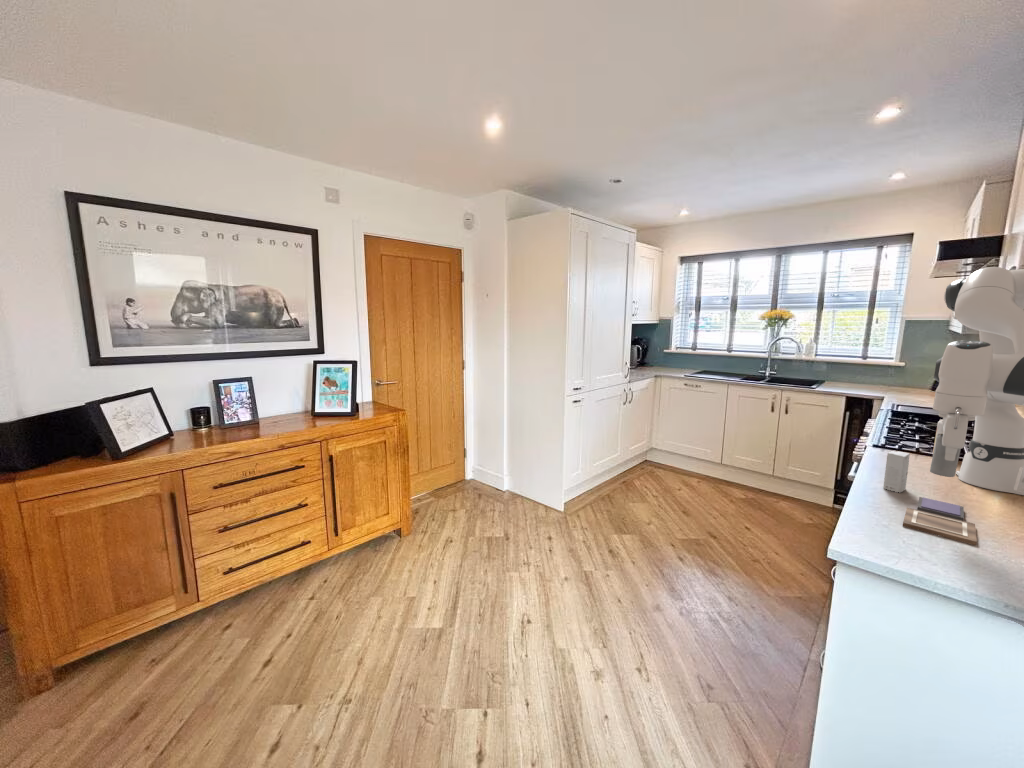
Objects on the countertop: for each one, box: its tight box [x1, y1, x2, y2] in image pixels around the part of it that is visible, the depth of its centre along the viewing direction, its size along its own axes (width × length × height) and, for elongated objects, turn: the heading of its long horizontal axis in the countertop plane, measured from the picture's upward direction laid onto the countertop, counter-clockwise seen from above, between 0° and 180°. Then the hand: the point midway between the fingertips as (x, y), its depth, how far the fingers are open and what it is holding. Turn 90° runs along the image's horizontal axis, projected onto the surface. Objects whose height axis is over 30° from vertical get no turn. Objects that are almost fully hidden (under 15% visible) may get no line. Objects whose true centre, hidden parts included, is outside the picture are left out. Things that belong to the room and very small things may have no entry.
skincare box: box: [882, 450, 911, 493], centre depth 131 cm, size 6×4×12 cm
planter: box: [929, 434, 961, 478], centre depth 105 cm, size 4×4×10 cm
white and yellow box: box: [932, 418, 943, 454], centre depth 161 cm, size 6×6×15 cm
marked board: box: [902, 507, 978, 546], centre depth 107 cm, size 13×13×1 cm
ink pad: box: [916, 496, 965, 521], centre depth 116 cm, size 10×9×2 cm
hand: (949, 457), depth 105 cm, fingers closed on planter, 4 cm apart
